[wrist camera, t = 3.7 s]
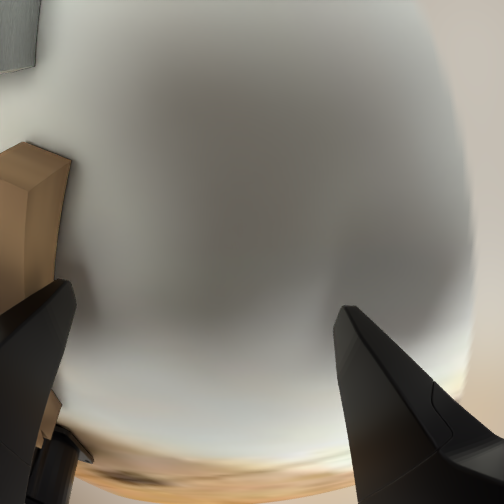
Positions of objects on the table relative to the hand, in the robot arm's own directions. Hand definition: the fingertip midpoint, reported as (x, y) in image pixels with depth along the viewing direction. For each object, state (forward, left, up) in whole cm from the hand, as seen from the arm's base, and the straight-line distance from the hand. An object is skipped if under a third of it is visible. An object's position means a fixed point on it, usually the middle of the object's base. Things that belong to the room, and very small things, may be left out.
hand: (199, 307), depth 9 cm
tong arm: (-3, +7, -1) cm, 8 cm away
